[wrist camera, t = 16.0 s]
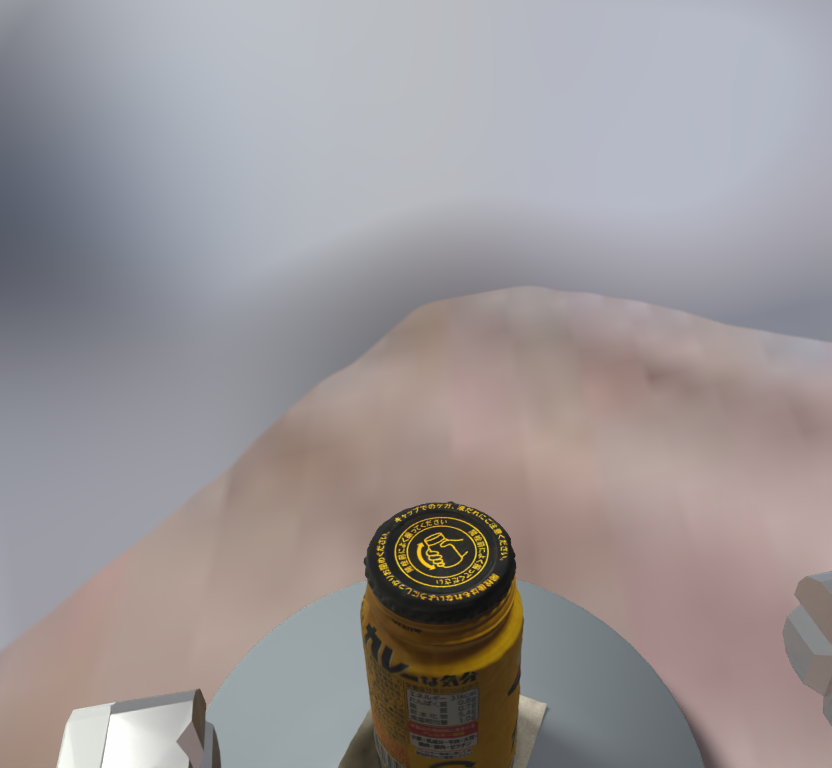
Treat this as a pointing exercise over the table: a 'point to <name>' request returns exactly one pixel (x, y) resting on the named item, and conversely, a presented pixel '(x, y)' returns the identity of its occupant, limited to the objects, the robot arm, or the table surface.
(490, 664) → the yellow drink bottle
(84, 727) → the robot arm
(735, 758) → the table surface
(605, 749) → the slate plate
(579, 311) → the table surface
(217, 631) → the table surface
